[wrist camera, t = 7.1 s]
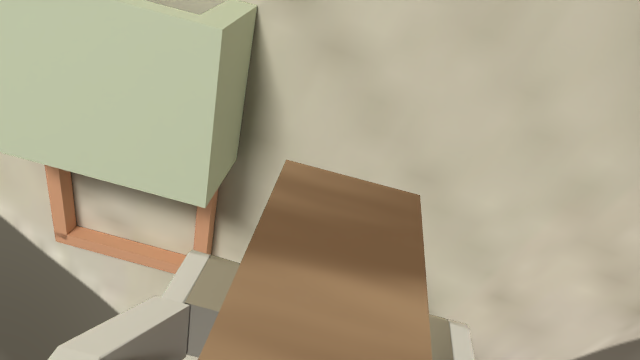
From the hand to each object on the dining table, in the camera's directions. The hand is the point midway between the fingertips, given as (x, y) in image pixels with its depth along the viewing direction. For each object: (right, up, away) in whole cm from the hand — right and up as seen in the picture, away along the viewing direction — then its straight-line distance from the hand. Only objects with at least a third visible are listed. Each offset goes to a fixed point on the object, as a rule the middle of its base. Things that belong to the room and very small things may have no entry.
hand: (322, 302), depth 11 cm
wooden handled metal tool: (-1, -4, +6) cm, 8 cm away
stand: (-11, +10, +15) cm, 22 cm away
